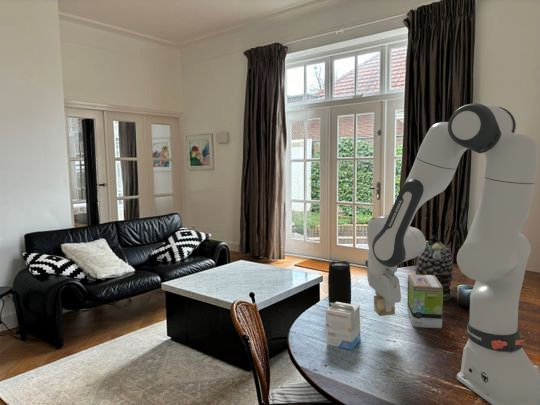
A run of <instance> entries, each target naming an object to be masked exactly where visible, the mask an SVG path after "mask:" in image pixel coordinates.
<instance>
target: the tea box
mask: <svg viewBox="0 0 540 405" xmlns="http://www.w3.org/2000/svg"><path fill="white" fill-rule="evenodd" d="M443 301H444V300H443V287H442V285H441V284H440V282H439V281H438V279H437V278H436V277H435V275H416V274H410V273H409V274H408V275H407V307H406V308H407V309H406V310H407V313H408V316H409V319H410V322H411V324H412V327H414V328H428V329H429V328H430V329H442V328H443V306H444V304H443V303H444V302H443Z"/></svg>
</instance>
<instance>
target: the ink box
mask: <svg viewBox="0 0 540 405" xmlns="http://www.w3.org/2000/svg"><path fill="white" fill-rule="evenodd" d="M330 304H331V306H330V307H328V308H327V309H325V321H326V322H325V323H326V345H327V346H331V347H336V348H341V349H346V350H351V351H353V350H354V348H356V346H357V345H358V344H359V342H360V341H361V317H360V316H361V312H360V308H361V307H360V305H357V304H352V303H351V304H346V303H341V302H335V303H330Z"/></svg>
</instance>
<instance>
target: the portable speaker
mask: <svg viewBox="0 0 540 405" xmlns="http://www.w3.org/2000/svg"><path fill="white" fill-rule="evenodd" d="M327 274H328V275H327V282H328V283H327V285H328V286H327V288H328V290H327V292H328V293H327V294H328V296H327V299H328V306H329V307H330V306H331V304H330V303H335V302H341V303H346V304H352V276H351V275H352V274H351V264H350V262H349V261H347V260H343V261H335V260H331V261H329V262H328V273H327ZM329 307H328V308H329Z"/></svg>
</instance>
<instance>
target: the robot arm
mask: <svg viewBox="0 0 540 405" xmlns="http://www.w3.org/2000/svg"><path fill="white" fill-rule="evenodd" d="M516 127H517V124H516V119H515V117H514V116H513V114H512V112H510V111H509V110H508V109H506V108H504V107H500V106H496V105H494V104H490V103H474V102H473V103H469V104H464V105H462V106H461V107H458V109H456V110H455V111H454V112H453V113H452V114H451V116H450V118H449V120H448V121H440V122H436V123H434V124H432V126H430V128H429V129H428V131H427V133H426V134H425V137H424V138H423V140H422V142H421V143H420V146H419V149H418V152H417V154H416V157H415V159H414V162H413V165H412V167H411V170H410V172H409V174H408V176H407V178H406V179H405V182H404V184H403V185H402V186H401V188H400V191H399V192H398V194H397V196H396V198H395V201H394V203H393V205H392V208H391V209H390V212H389V214H386V215H385V214H384V215H380V216H376V217H372V218H370V219H369V220H368V223H367V229H366V231H367V232H366V238H367V240H366V241H367V246H368V253H367V254H368V255H367V259H365V260H364V265H365V267H366V274H367V277H366V278H367V282H368V286H369V287H370V288H372V289H373V290H374V292H375V296H378V295H381V296H382V297H383V298H385V301H386V302H385V305H384V309H385V311H387V312H391V310H392V307H391V306H392V303H395V304H396V303H400V302H401V300H402V294H401V284H400V279H399V277H398V276H397V275H395V273H397V272H398V265H401V264H402V263H404V262H407V261H410V260H413V259H415V258H418V256H419V255H421V254H422V253H423V252H424V251H425V249H426V242H427V239H426V236H425V234H424V233H423V232H422V230H420V229H419V228H417V227H413V226H411V224H412V223H413V220H414V218H415V215H416V213H417V212H418V211H419V209H420V208H421V207H422V206H423V205H424V204H425V203H426V202H427V201H429V200H431V199H432V198H434V197H436V196H437V195H439V194H441V193H443V192H444V191H445V190H446V189H447V187H448V186H449V185H450V183H451V182H452V180H453V178H454V176H455V174H456V171H457V168H458V166H459V163H460V161H461V158H462V156H463V154H464V153H465V152H466V151H467V150H470V151H473V152H474V153H477V154H484V156H485V159H486V162H485V169H484V173H483V174H484V175H483V181H482V186H481V190H480V191H481V193H480V198H479V202H478V207H477V209H476V212H475V215H474V218H473V220H472V222H471V225H470V227H469V230H468V233H467V236H466V238H465V240H464V242H463V244H462V245H461V247H460V248H459V249H458V252H457V255H456V264H457V266H458V269H459V270H460V272H461V273H462V274H463V275H464V277H466V278H468V279H469V280H470V279H471V280H473V281H475V282H474V285H473V288H472V289H471V292H470V294H469V295H470V296H469V320H468V322H467V326H466V330H467V331H466V332H467V334H466V335H467V337H468V338H467V342H466V344H465V345H464V347H463V349H462V350H463V351H462V356H461V357H462V358H461V366H460V371H459V372H458V373H457V374H456V379H457V381H459V382H460V383H462V384H463V385H464V386H466V387H467V388H469V389H470V390H471V391H473V392H474V393H476V394H477V395H478V396H480V397H481V398H482V399H484V400H485V401H487V402H488V403H489V404H491V405H540V367H539V366H538V365H536V364H533V362H532V360H530V357H528V355H527V353H526V352H525V350H524V348H523V345H525V339H522V334H521V333H520V329H519V328H518V326H519V324H518V323H519V306H520V305H519V303H520V295H521V291H522V287H523V282H524V279H525V274H526V270H527V268H526V267H527V263H528V260H529V258H530V255H531V251H532V248H531V247H532V246H531V244H530V241H529V240H528V238H527V237H526V236H525V235H524V234H523V233H521V230H522V229H523V225H524V224H525V222H526V220H527V218H528V217H529V216H530V209H531V205H532V201H533V196H534V191H535V188H536V187H535V186H536V182H537V180H536V179H537V176H538V175H537V174H538V168H539V167H538V166H539V147H538V144H537V141H536V140H535V139H533V138H532V137H531V136H528V135H525V134H523V133H522V134H521V133H515V132H516Z"/></svg>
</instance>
